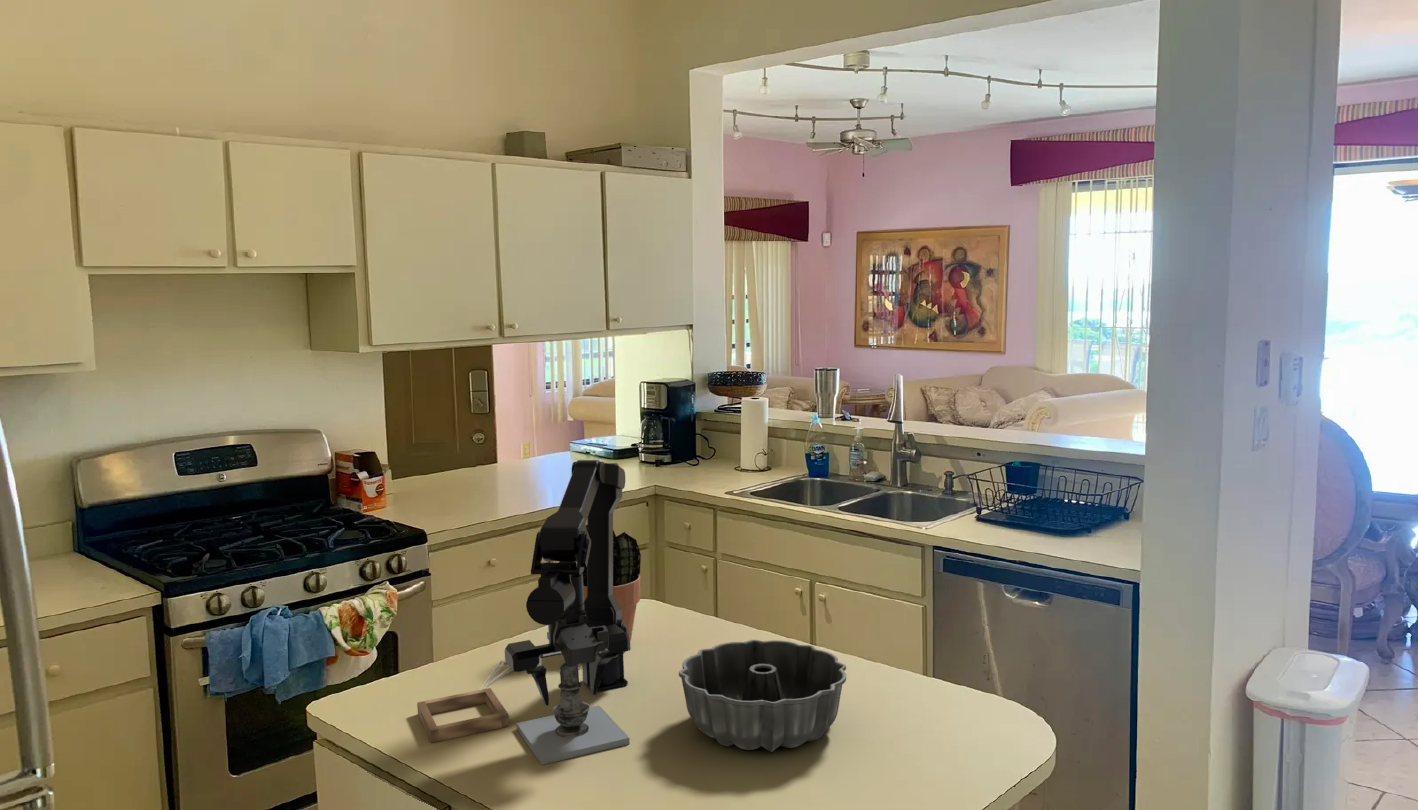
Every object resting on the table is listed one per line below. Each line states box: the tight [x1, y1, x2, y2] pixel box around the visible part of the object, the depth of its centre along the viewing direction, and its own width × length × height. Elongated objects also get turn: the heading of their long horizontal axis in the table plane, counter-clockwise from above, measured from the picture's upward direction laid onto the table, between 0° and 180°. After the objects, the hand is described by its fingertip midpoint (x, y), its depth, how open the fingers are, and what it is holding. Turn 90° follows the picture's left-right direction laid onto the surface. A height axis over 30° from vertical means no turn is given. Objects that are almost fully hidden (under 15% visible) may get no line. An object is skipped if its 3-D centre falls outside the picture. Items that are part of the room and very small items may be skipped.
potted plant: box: [582, 524, 642, 642], centre depth 198 cm, size 14×14×25 cm
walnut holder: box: [416, 687, 510, 744], centre depth 165 cm, size 12×12×2 cm
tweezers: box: [478, 660, 514, 690], centre depth 181 cm, size 18×5×2 cm, turn 164°
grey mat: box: [516, 704, 631, 766], centre depth 157 cm, size 14×14×1 cm
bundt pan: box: [678, 639, 847, 753], centre depth 158 cm, size 26×26×10 cm
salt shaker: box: [552, 661, 591, 738], centre depth 156 cm, size 6×6×12 cm
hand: (570, 699), depth 157 cm, fingers open, 7 cm apart
